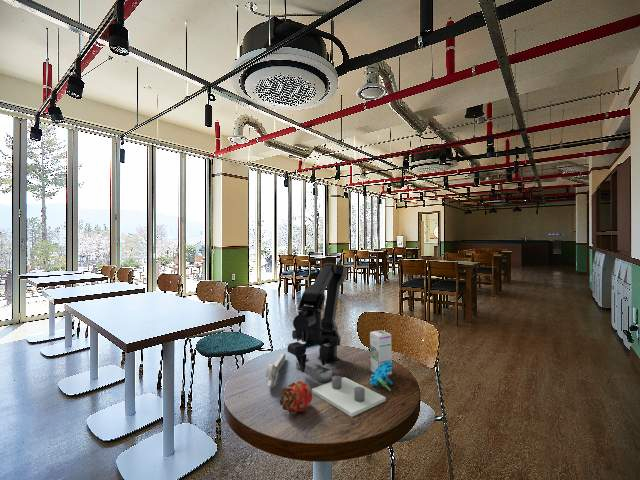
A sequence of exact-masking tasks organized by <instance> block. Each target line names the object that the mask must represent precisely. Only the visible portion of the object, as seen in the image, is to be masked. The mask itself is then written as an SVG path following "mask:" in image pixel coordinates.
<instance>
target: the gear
mask: <svg viewBox="0 0 640 480" xmlns="http://www.w3.org/2000/svg"><path fill="white" fill-rule="evenodd" d="M393 365H394V364H393V363H391V362H390V361H388V362H387V361H385V362H384V364H381V365H379V369H376V370H375V372H376V373H375V374H374V373H372V374H371V376H370V379H369V382H368V383H370V385H371V386H372V387H373V386H376V387H377V386H378V385H379V384H380V385H381V386H382V387H385V389H387V390H388V391H389V392H391V391H392V389H391V388H390V387H389V386H388V385H387V384H389V385H390V386H392V385H393V384H394V383H393V382H392V380H391V379H390V378H389V375H388V374H387V372H388V371H389V372H390V371H391V370H392V371H393V369H391V368H390V367H393Z"/></svg>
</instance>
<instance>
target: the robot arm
mask: <svg viewBox="0 0 640 480" xmlns="http://www.w3.org/2000/svg"><path fill="white" fill-rule="evenodd" d="M347 274H348V268H347V267H346V266H345V264H336V263H333V262H325V263H323V264H322V268H321V270H320V272H319V273H318V275H317V277H316V279H315V281H314V282H313V284H311V285H309V286H307V287H306V288H305V290H304V291H303V292H302V295H301V297H300V298H301V299H300V301H299V304H298V308H297V310H298V314H297V315H296V316H295V317H294V319H293V321H292V326H293V328H294V330H291V332H292V333H291V336H292V340H296V341H295V342H291V343H289V344H288V345H287V353H290V354H292V355H293V356H295V358H296V359H297V360H298V362H299V365H300V368H301V370H300V371H301V372H302V373H305V372H304V370H305V364H306V358H307V356H308V355H307V354H306V352H307V350H308V349H312V348H316V347H319V350H318V352H319V353H318V356H317V360H320V361H321V366H322V367H324V366H326V363H327V364H328V363H332V362H335V361H338V360H340V357H338V346H341V336H340V334H339V332H338V328H339V327H338V325H337V323H336V316H337V315H336V314H337V309H338V301H339V297H340V296H339V295H340V289H341V286H342V285H343V283H344V282H345V280H346V276H348V275H347ZM326 289H327V293H325V291H326ZM324 305H325V306H324ZM323 306H324V310H323ZM322 311H324V312H323V315H322ZM322 316H323V317H322ZM300 341H301V342H303V343H301V342H300Z"/></svg>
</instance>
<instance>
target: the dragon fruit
mask: <svg viewBox="0 0 640 480" xmlns="http://www.w3.org/2000/svg"><path fill="white" fill-rule="evenodd" d="M280 391H281V396H280V400H279V404H280V405H281V406H282V407H281V408H282V410H283V411H288V412H289V414H290V415H293V416H294V415H295V416H296V415H297V414H298V413H299V412H301V413H304V412H308V410H309V409H308V405H310V404H311V401H312V400H313V393H312V391H311V388H310V387H309V385H308V383H306V382H303V381H302V380H298V381H297V382H296V383H295V382H292V383H289V384H288V386H287V387H283V388H282V389H281V390H280Z"/></svg>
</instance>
